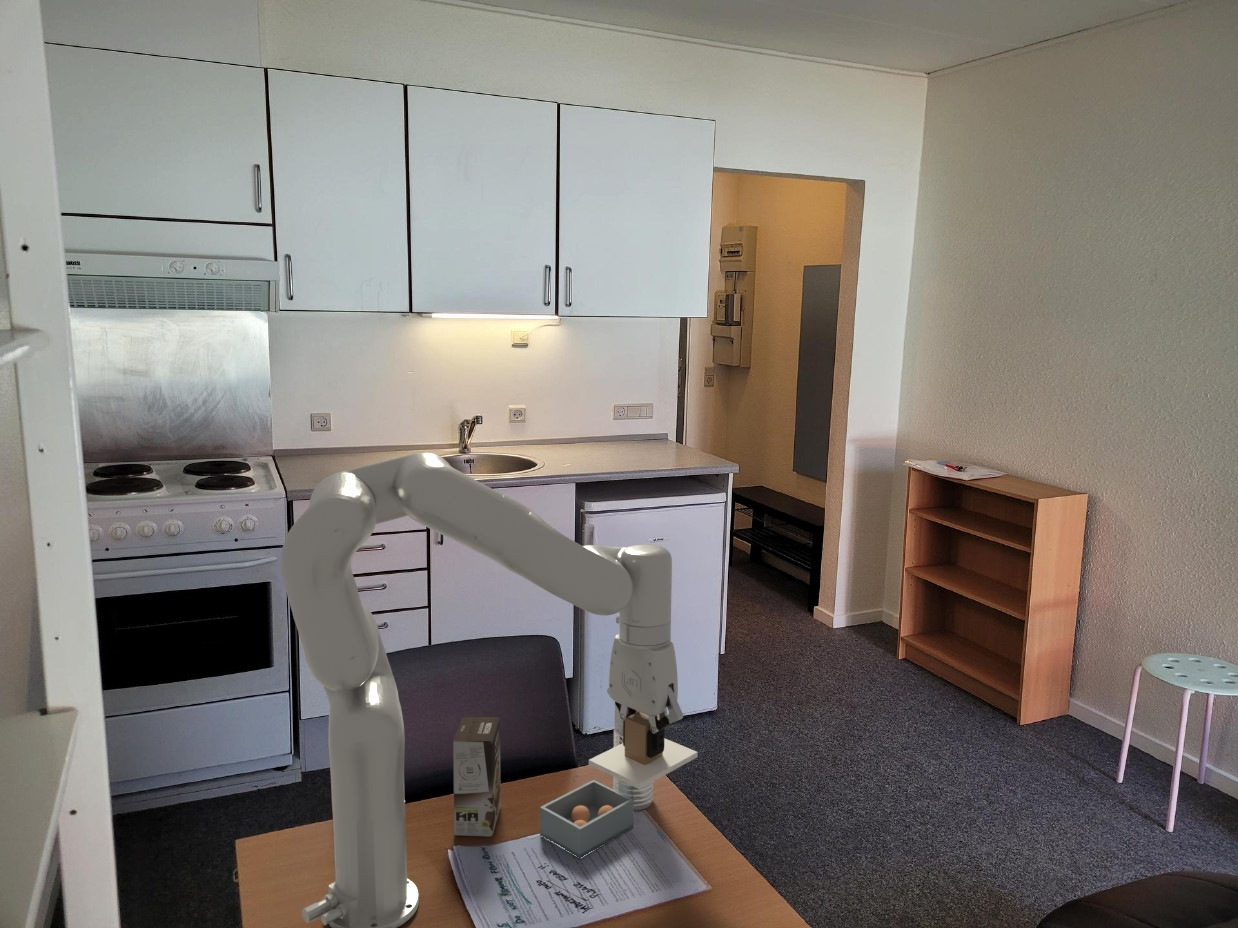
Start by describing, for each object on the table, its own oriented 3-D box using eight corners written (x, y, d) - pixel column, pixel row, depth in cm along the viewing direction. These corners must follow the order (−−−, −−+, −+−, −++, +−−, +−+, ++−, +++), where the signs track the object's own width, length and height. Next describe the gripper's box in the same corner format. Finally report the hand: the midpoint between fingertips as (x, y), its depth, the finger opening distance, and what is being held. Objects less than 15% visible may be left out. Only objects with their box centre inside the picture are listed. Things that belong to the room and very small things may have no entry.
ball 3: (607, 831, 146) (607, 813, 145) (593, 823, 148) (593, 806, 147) (620, 823, 148) (620, 806, 148) (606, 816, 150) (606, 799, 150)
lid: (639, 789, 129) (639, 743, 127) (588, 764, 135) (588, 721, 134) (697, 756, 138) (698, 714, 137) (647, 735, 145) (647, 694, 144)
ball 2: (580, 846, 142) (580, 828, 141) (566, 838, 144) (566, 821, 143) (593, 838, 144) (594, 821, 143) (580, 831, 146) (580, 813, 145)
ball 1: (580, 831, 146) (580, 813, 145) (567, 823, 148) (567, 806, 147) (593, 823, 148) (593, 806, 147) (580, 816, 150) (580, 799, 149)
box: (580, 859, 140) (580, 829, 139) (540, 836, 146) (540, 806, 145) (633, 828, 148) (633, 799, 147) (593, 807, 154) (593, 779, 154)
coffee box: (493, 837, 145) (492, 741, 143) (453, 836, 145) (451, 740, 143) (502, 806, 154) (501, 715, 152) (463, 805, 154) (462, 715, 152)
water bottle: (630, 787, 161) (632, 650, 157) (661, 800, 157) (664, 661, 153) (604, 802, 156) (605, 662, 152) (635, 817, 152) (637, 672, 147)
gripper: (585, 623, 136) (585, 739, 139) (672, 652, 125) (670, 777, 128) (620, 611, 142) (619, 723, 145) (706, 638, 130) (703, 759, 133)
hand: (643, 747), depth 136 cm, fingers closed on lid, 4 cm apart
